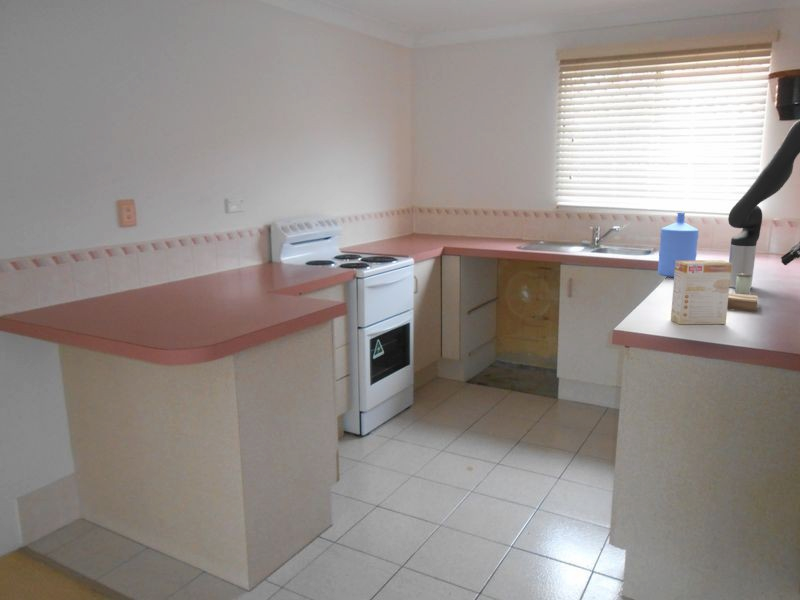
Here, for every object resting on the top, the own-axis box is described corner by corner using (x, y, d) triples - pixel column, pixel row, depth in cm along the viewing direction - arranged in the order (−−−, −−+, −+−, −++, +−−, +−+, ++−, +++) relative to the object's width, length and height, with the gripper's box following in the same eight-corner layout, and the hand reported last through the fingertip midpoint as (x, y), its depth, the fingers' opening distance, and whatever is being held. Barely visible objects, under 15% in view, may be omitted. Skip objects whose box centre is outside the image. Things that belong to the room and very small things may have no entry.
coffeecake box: (715, 319, 213) (721, 259, 209) (726, 324, 206) (733, 263, 202) (669, 319, 212) (674, 259, 208) (679, 324, 205) (685, 263, 201)
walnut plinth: (725, 303, 237) (726, 292, 236) (756, 306, 232) (757, 295, 232) (723, 308, 229) (724, 297, 228) (755, 311, 224) (757, 300, 223)
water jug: (698, 278, 290) (704, 214, 284) (660, 277, 293) (665, 214, 287) (690, 273, 305) (695, 212, 299) (654, 271, 308) (659, 211, 302)
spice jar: (734, 298, 246) (737, 272, 244) (749, 300, 243) (752, 273, 241) (733, 301, 242) (736, 274, 240) (748, 302, 239) (751, 275, 237)
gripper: (815, 221, 233) (774, 251, 241) (818, 224, 221) (775, 256, 229) (831, 237, 232) (789, 267, 239) (834, 241, 219) (790, 272, 227)
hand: (782, 261), depth 234 cm, fingers open, 8 cm apart
